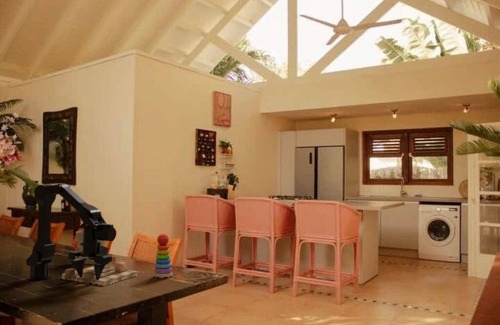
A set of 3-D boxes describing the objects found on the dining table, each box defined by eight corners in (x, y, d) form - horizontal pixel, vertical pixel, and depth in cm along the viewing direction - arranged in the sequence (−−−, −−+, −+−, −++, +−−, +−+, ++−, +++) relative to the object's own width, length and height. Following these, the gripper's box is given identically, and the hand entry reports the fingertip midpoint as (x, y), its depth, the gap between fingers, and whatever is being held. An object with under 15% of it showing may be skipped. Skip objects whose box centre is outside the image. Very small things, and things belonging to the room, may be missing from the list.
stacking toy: (164, 273, 192) (165, 232, 193) (175, 276, 187) (177, 233, 188) (150, 276, 186) (151, 233, 187) (161, 279, 181) (162, 235, 182)
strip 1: (69, 279, 173) (69, 270, 173) (64, 278, 174) (64, 269, 174) (108, 269, 193) (109, 261, 193) (104, 268, 194) (104, 260, 194)
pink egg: (120, 272, 183) (120, 264, 183) (112, 271, 185) (112, 262, 185) (127, 270, 187) (127, 262, 187) (119, 269, 189) (120, 261, 189)
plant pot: (113, 259, 218) (113, 229, 218) (96, 266, 203) (96, 233, 204) (87, 258, 221) (87, 228, 221) (69, 265, 207) (69, 232, 207)
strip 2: (88, 283, 168) (88, 273, 168) (83, 282, 169) (83, 272, 169) (127, 272, 188) (127, 263, 188) (122, 271, 189) (122, 263, 189)
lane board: (101, 286, 167) (101, 280, 167) (58, 279, 178) (58, 273, 178) (137, 275, 187) (137, 270, 187) (97, 269, 197) (97, 264, 197)
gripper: (122, 239, 174) (121, 277, 173) (89, 235, 182) (87, 272, 182) (101, 242, 164) (100, 283, 163) (67, 238, 172) (66, 277, 172)
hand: (89, 278), depth 170 cm, fingers open, 9 cm apart
